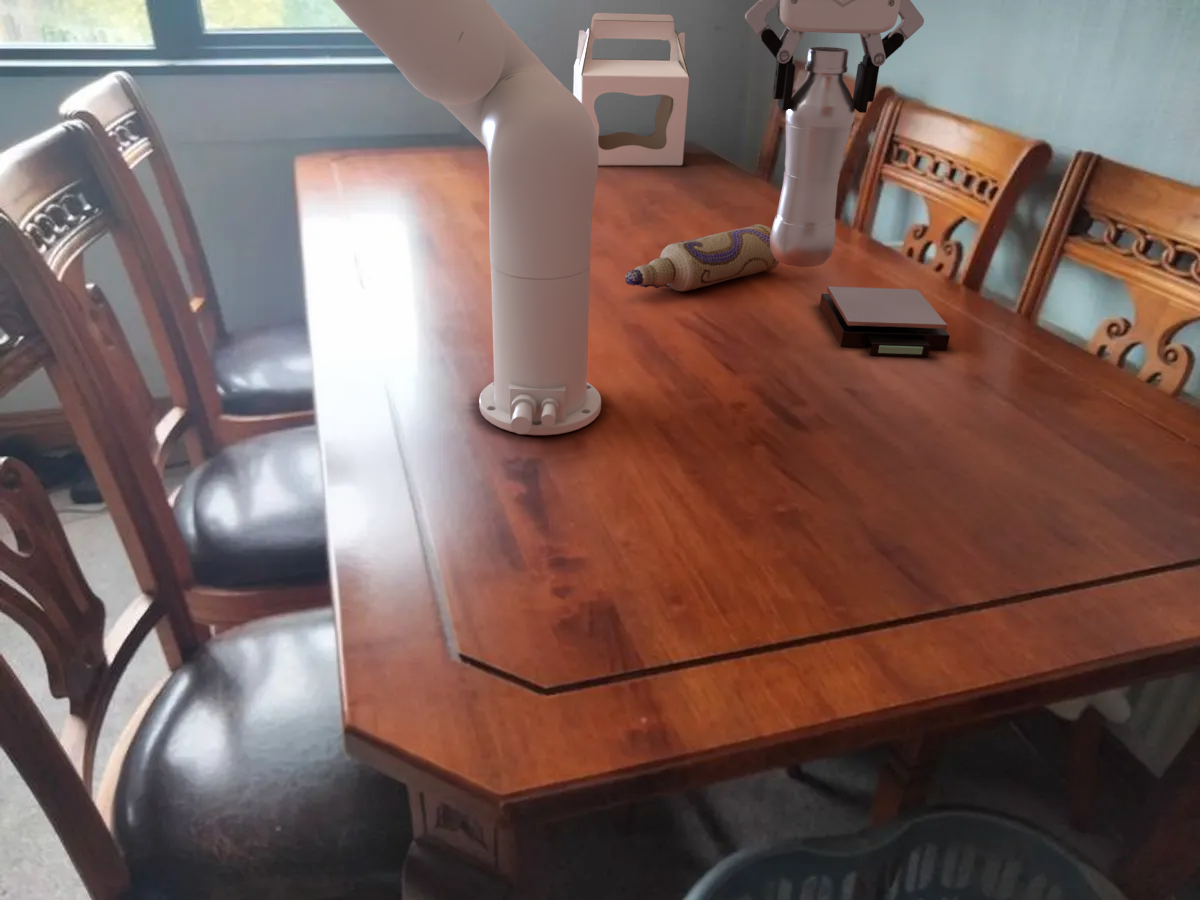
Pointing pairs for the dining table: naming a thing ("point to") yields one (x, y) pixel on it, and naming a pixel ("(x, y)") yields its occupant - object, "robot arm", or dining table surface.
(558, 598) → the dining table surface
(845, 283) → the dining table surface
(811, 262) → the plastic bottle
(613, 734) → the dining table surface
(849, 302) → the scale
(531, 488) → the dining table surface
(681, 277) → the decorative bottle
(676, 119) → the gable box
